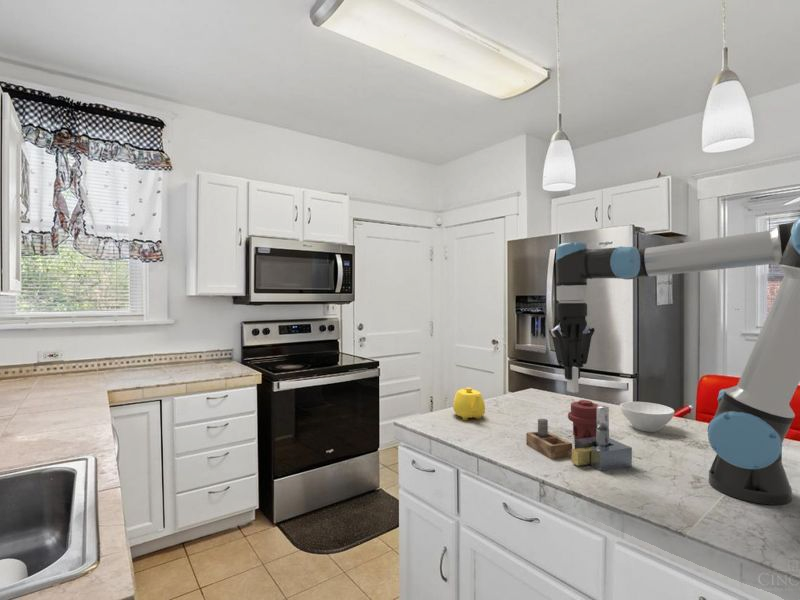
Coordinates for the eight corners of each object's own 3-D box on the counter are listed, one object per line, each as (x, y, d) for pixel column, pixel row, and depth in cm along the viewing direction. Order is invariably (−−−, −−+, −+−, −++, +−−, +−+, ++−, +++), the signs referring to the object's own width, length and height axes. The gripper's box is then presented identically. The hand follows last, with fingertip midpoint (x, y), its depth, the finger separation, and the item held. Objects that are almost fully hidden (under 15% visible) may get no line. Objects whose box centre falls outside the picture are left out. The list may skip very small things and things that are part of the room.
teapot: (494, 423, 155) (494, 393, 154) (464, 425, 152) (464, 394, 152) (474, 409, 172) (474, 382, 172) (447, 411, 170) (447, 384, 169)
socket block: (631, 466, 116) (631, 447, 116) (600, 471, 113) (600, 451, 113) (603, 453, 126) (604, 435, 126) (574, 457, 123) (574, 439, 123)
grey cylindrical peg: (611, 463, 119) (611, 407, 118) (601, 464, 118) (602, 408, 117) (602, 458, 122) (603, 404, 121) (593, 460, 121) (593, 405, 120)
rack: (572, 455, 124) (572, 427, 124) (551, 458, 122) (551, 430, 122) (546, 441, 135) (546, 416, 135) (526, 444, 133) (526, 418, 133)
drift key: (599, 462, 118) (599, 449, 118) (577, 465, 116) (577, 452, 116) (593, 459, 120) (593, 446, 120) (571, 462, 118) (571, 449, 118)
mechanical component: (598, 436, 140) (606, 447, 130) (565, 434, 142) (570, 445, 132) (598, 398, 139) (606, 406, 130) (565, 396, 141) (571, 404, 132)
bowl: (675, 439, 137) (675, 416, 137) (618, 431, 145) (618, 410, 145) (673, 425, 151) (673, 405, 151) (621, 418, 159) (621, 399, 159)
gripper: (581, 301, 121) (582, 386, 121) (541, 302, 117) (542, 390, 117) (602, 301, 114) (603, 392, 114) (560, 302, 110) (561, 396, 110)
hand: (572, 391), depth 116 cm, fingers closed
